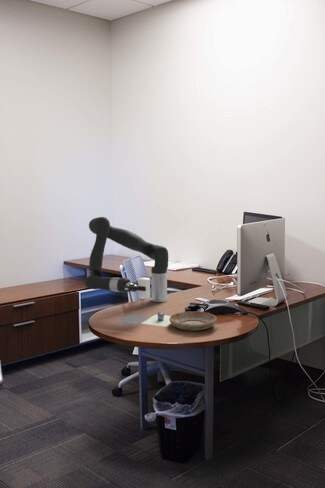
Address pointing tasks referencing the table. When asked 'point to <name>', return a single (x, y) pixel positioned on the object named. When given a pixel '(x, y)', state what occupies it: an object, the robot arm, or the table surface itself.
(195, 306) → the end cap
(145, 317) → the mat
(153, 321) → the board
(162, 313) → the peg
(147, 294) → the white lidded canister
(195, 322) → the ceramic bowl
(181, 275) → the table surface
